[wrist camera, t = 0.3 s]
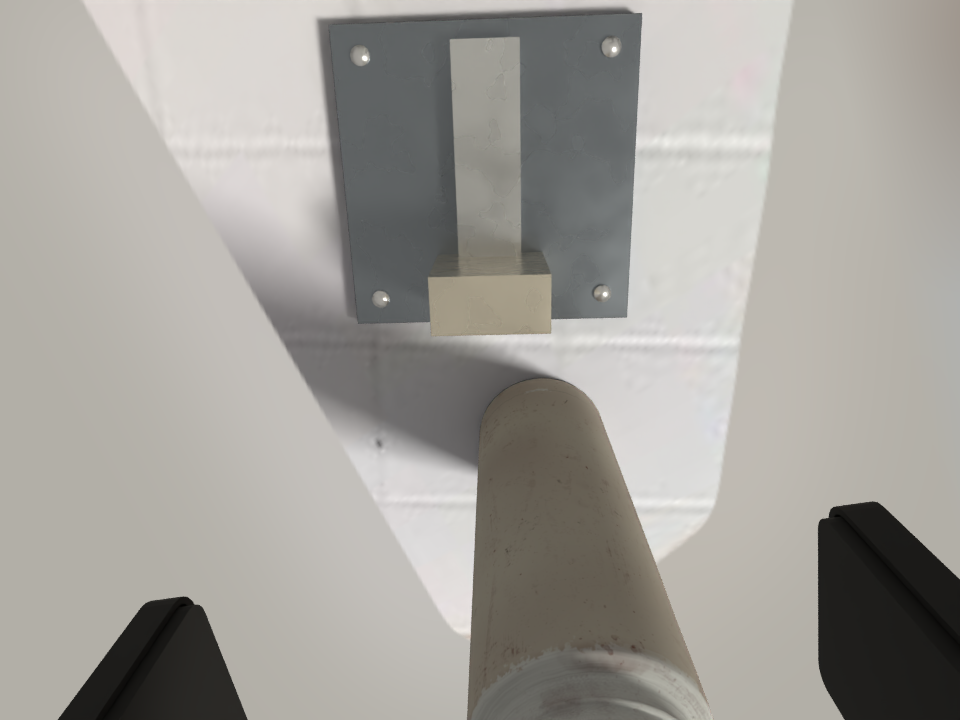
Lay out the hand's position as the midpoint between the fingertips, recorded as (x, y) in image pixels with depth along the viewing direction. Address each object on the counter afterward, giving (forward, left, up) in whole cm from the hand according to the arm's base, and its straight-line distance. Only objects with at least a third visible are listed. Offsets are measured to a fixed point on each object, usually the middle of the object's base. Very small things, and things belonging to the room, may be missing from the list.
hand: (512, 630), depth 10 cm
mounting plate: (-5, 0, -30) cm, 30 cm away
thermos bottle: (+11, +3, -30) cm, 32 cm away
